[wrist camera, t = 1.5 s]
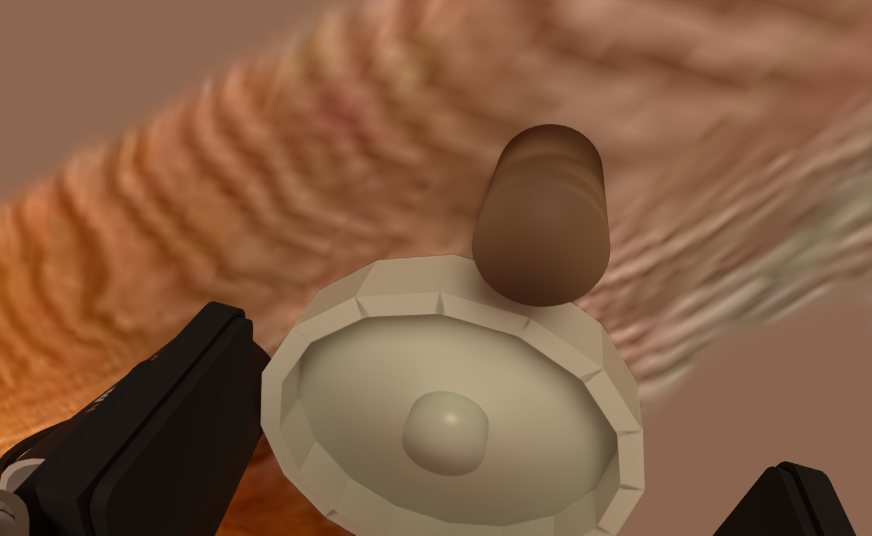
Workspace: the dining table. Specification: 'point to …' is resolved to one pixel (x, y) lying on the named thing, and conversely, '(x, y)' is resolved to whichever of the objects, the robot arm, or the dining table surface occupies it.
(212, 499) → the coffee mug
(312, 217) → the dining table surface
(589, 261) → the cylinder
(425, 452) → the tray
